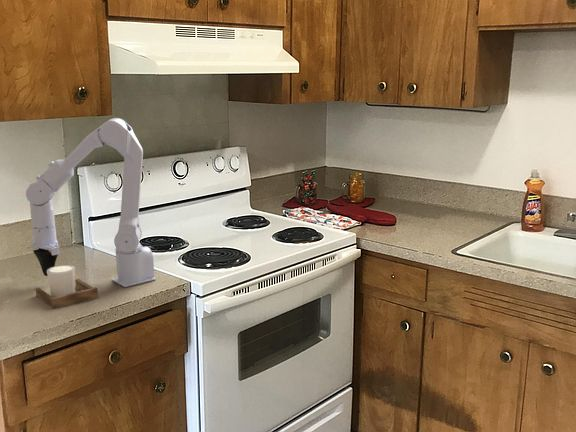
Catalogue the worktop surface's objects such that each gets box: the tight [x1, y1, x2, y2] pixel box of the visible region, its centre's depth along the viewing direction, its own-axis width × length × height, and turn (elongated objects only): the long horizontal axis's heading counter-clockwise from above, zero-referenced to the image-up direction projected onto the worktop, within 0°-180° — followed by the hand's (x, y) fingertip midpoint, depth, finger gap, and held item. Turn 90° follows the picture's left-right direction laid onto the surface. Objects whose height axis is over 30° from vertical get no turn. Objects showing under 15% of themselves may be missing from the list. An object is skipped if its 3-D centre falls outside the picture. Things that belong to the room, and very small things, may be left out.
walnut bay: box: [35, 278, 99, 310], centre depth 160 cm, size 12×12×2 cm
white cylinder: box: [47, 264, 76, 297], centre depth 162 cm, size 7×7×7 cm
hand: (48, 274), depth 169 cm, fingers closed
